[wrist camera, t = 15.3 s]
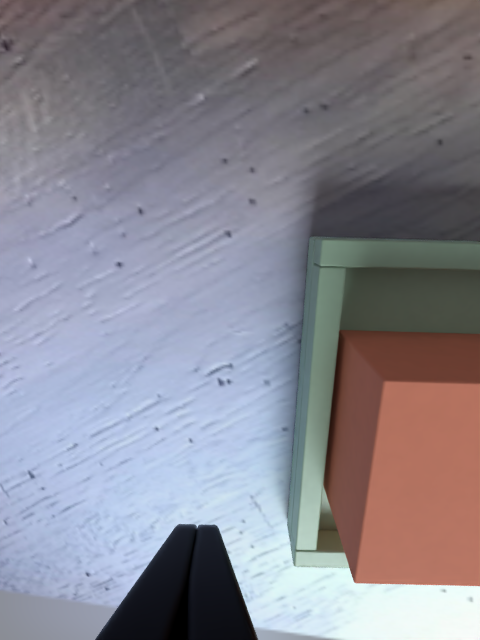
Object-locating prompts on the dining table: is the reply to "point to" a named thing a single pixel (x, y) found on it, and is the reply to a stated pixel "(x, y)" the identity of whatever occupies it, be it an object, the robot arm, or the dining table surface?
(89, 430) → the dining table surface
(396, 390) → the coral block
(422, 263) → the green shallow rectangular tray
